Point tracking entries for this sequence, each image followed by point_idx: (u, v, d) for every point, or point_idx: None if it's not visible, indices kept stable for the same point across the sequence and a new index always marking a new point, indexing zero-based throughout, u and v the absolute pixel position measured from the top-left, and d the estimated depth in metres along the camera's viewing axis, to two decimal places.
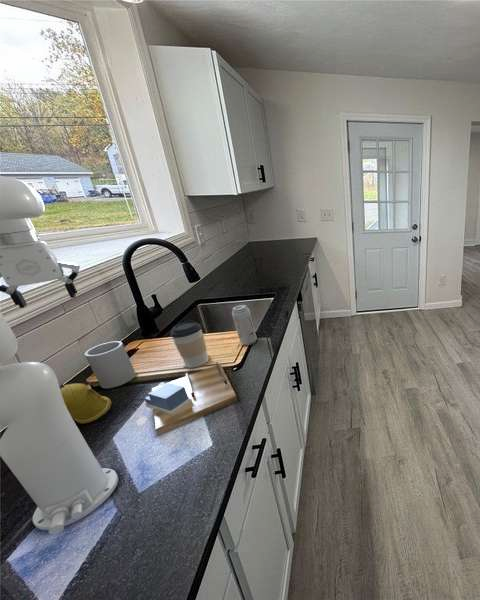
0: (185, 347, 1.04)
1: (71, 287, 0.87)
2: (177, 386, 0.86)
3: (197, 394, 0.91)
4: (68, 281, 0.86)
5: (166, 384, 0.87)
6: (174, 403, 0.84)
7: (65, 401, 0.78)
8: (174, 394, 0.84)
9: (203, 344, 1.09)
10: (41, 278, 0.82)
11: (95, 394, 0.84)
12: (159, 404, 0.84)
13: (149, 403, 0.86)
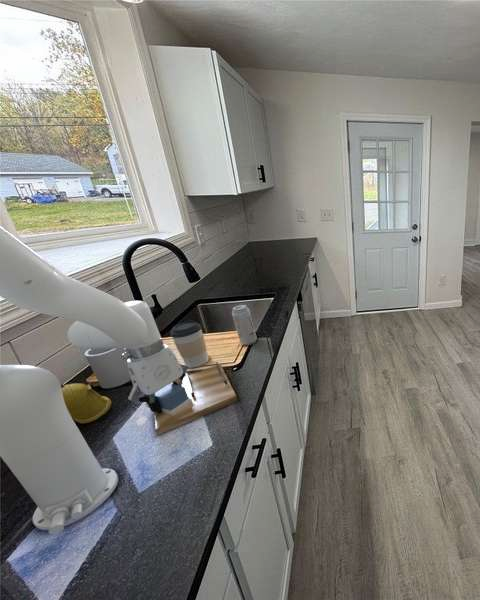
0: (185, 347, 1.04)
1: None
2: (177, 386, 0.86)
3: (197, 394, 0.91)
4: (180, 383, 0.88)
5: None
6: (174, 403, 0.84)
7: (65, 401, 0.78)
8: (174, 394, 0.84)
9: (203, 344, 1.09)
10: (171, 379, 0.84)
11: (95, 394, 0.84)
12: None
13: None
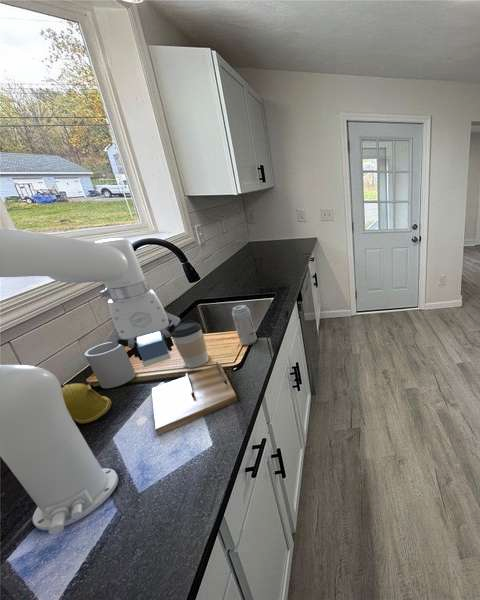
0: (185, 347, 1.04)
1: (169, 340, 0.83)
2: (159, 337, 0.80)
3: (197, 394, 0.91)
4: (167, 334, 0.82)
5: (157, 332, 0.83)
6: (148, 354, 0.78)
7: (65, 401, 0.78)
8: (149, 345, 0.78)
9: (203, 344, 1.09)
10: (151, 329, 0.79)
11: (95, 394, 0.84)
12: None
13: None
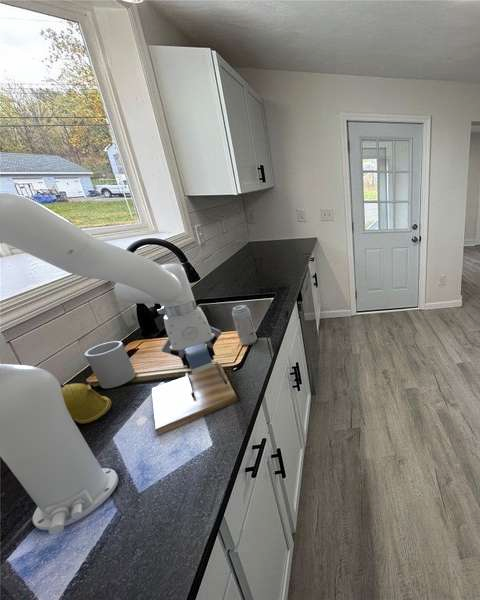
0: None
1: (212, 350, 0.95)
2: (204, 348, 0.92)
3: (197, 394, 0.91)
4: (210, 345, 0.94)
5: (201, 343, 0.95)
6: (196, 363, 0.90)
7: (65, 401, 0.78)
8: (197, 355, 0.89)
9: None
10: (198, 341, 0.90)
11: (95, 394, 0.84)
12: None
13: None
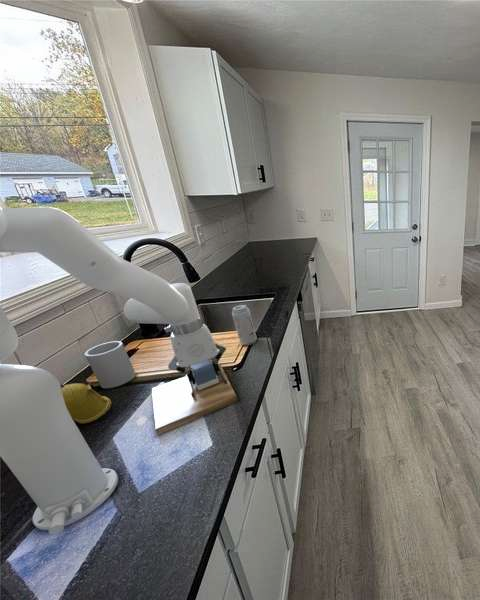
0: None
1: (217, 366, 0.97)
2: (210, 364, 0.94)
3: (197, 394, 0.91)
4: (215, 361, 0.96)
5: None
6: (201, 380, 0.92)
7: (65, 401, 0.78)
8: (202, 372, 0.91)
9: None
10: (204, 358, 0.92)
11: (95, 394, 0.84)
12: None
13: (192, 372, 0.97)
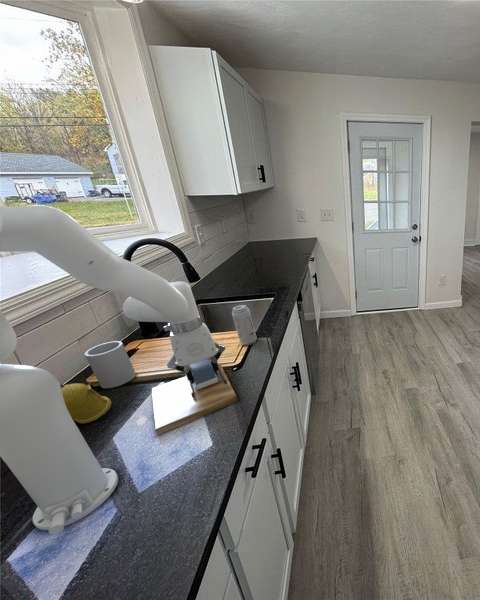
0: None
1: (216, 365, 0.97)
2: (209, 364, 0.94)
3: (197, 394, 0.91)
4: (214, 361, 0.96)
5: (205, 359, 0.97)
6: (200, 379, 0.91)
7: (65, 401, 0.78)
8: (201, 371, 0.91)
9: None
10: (203, 357, 0.92)
11: (95, 394, 0.84)
12: None
13: None
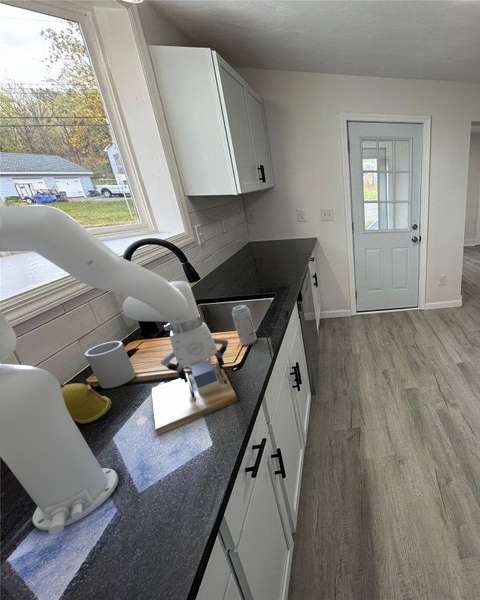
0: None
1: (221, 360, 0.98)
2: (210, 367, 0.94)
3: (197, 394, 0.91)
4: (220, 355, 0.97)
5: (207, 362, 0.97)
6: (202, 382, 0.92)
7: (65, 401, 0.78)
8: (203, 374, 0.92)
9: None
10: (203, 356, 0.92)
11: (95, 394, 0.84)
12: None
13: None
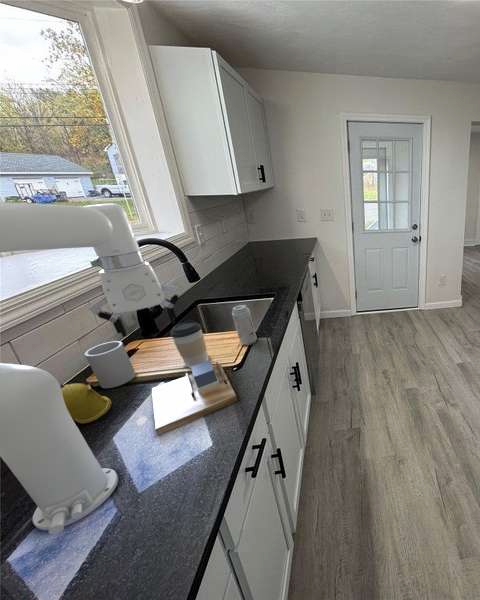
0: (185, 347, 1.04)
1: (172, 312, 0.79)
2: (210, 367, 0.94)
3: (197, 394, 0.91)
4: (170, 305, 0.78)
5: (207, 362, 0.97)
6: (202, 382, 0.92)
7: (65, 401, 0.78)
8: (203, 374, 0.92)
9: (203, 344, 1.09)
10: (146, 303, 0.73)
11: (95, 394, 0.84)
12: None
13: None
